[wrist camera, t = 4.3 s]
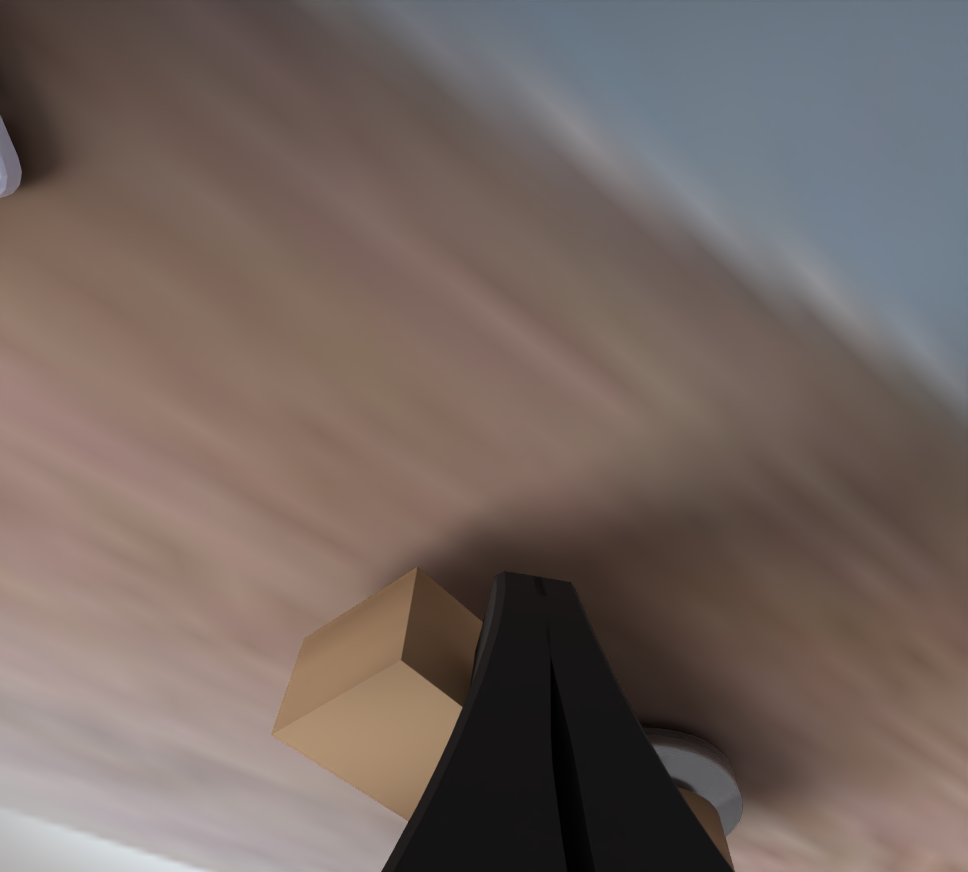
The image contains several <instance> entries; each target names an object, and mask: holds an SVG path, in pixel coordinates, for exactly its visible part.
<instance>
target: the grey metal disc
mask: <svg viewBox="0 0 968 872" xmlns="http://www.w3.org/2000/svg"><path fill="white" fill-rule="evenodd" d="M643 730H644V732H645V733H646V735H647V737H648V739H649V740H650V742H651V744H652V746H653V747H654V749H655V751H656V752H657V754H658V756H659V757H660V759H661V761H662V763H663V764H664V766H665V768H666V769H667V771H668V773H669V774H670V776H671V778H672V779H673V781H674V782H675V784H676V786H677V787H678V788H682V789H686V790H689V791H691V792H694V793H696V794H698V795H700V796H702V797H704V798H705V799H707V800H708V801H709V802H710V803H711V804H712V805H713V806H714V807H715V808H716V810H717V811H718V813H719V816H720V819H721V823H722V827H723V830H724V834H725V837H726V836H727V835H728V834H730V833H731V831H732V830H733V829H734V828H735V827H736V825H737V823H738V822H739V820H740V817H741V814H742V808H743V804H742V798H741V795H740V791H739V788H738V785H737V782H736V778H735V775H734V772H733V769H732V767H731V764H730V762H729V761H728V759H727V758H726V756H725V755H724V754H723V753H722V752H721V751H720V750H719V749H717V748H716V747H715V746H713V745H712V744H710V743H708V742H706V741H705V740H703V739H701V738H698V737H696V736H693V735H690V734H687V733H683V732H680V731H674V730H669V729H661V728H643Z"/></svg>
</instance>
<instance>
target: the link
mask: <svg viewBox="0 0 968 872" xmlns="http://www.w3.org/2000/svg"><path fill="white" fill-rule="evenodd" d="M482 624H483V622H482V621H481V620H480V619H478V618H477V617H476V616H475V615H474V614H472V613H471V612H470V611H469V610H468V609H467V608H465V607H464V606H463V605H462V604H461V603H460V602H458V601H457V600H456V599H455V598H454V597H453V596H451V595H450V594H449V593H448V592H447V591H446V590H444V589H443V588H442V587H441V586H440V585H438V584H437V583H436V582H435V581H434V580H433V579H431V578H430V577H429V576H428V575H427V574H426V573H424V572H423V571H422V570H421V569H420V568H419V567H416V568H414V569H413V570H411V571H410V572H408V573H406V574H405V575H403V576H402V577H400V578H399V579H397V580H396V581H394V582H392V583H391V584H389V585H388V586H386V587H385V588H383V589H381V590H380V591H378V592H377V593H375V594H374V595H372V596H371V597H369V598H367V599H366V600H364V601H363V602H361V603H360V604H358V605H356V606H355V607H353V608H352V609H350V610H349V611H347V612H346V613H344V614H342V615H341V616H339V617H338V618H336V619H335V620H333V621H331V622H330V623H328V624H327V625H325V626H324V627H322V628H321V629H319V630H317V631H316V632H314V633H313V634H311V635H310V636H308V637H306V638H305V639H304V641H303V643H302V646H301V649H300V652H299V655H298V658H297V661H296V664H295V667H294V670H293V672H292V675H291V678H290V681H289V684H288V687H287V690H286V693H285V696H284V699H283V701H282V704H281V707H280V710H279V713H278V716H277V719H276V722H275V725H274V728H273V730H272V733H271V735H272V736H274V737H275V738H277V739H278V740H280V741H281V742H283V743H285V744H286V745H288V746H289V747H291V748H293V749H294V750H296V751H297V752H299V753H301V754H302V755H304V756H305V757H307V758H309V759H310V760H312V761H313V762H315V763H317V764H318V765H320V766H321V767H323V768H324V769H326V770H328V771H329V772H331V773H332V774H334V775H336V776H337V777H339V778H340V779H342V780H344V781H345V782H347V783H348V784H350V785H352V786H353V787H355V788H356V789H358V790H360V791H361V792H363V793H364V794H366V795H368V796H369V797H371V798H372V799H374V800H375V801H377V802H379V803H380V804H382V805H383V806H385V807H387V808H388V809H390V810H391V811H393V812H395V813H396V814H398V815H399V816H401V817H403V818H404V819H406V820H407V821H409V820H410V818H411V816H412V814H413V812H414V810H415V809H416V807H417V805H418V803H419V801H420V799H421V797H422V795H423V793H424V791H425V789H426V787H427V785H428V783H429V781H430V779H431V777H432V775H433V773H434V771H435V769H436V766H437V764H438V762H439V760H440V758H441V756H442V754H443V751H444V749H445V747H446V745H447V743H448V741H449V738H450V736H451V734H452V732H453V729H454V727H455V724H456V722H457V719H458V717H459V715H460V712H461V710H462V707H463V705H464V702H465V700H466V698H467V695H468V693H469V688H470V682H471V677H472V671H473V664H474V655H475V649H476V646H477V642H478V638H479V635H480V631H481V628H482ZM678 789H679V790H680V792H681V794H682V795H683V797H684V798H685V800H686V801H687V803H688V805H689V806H690V808H691V809H692V811H693V812H694V814H695V815H696V817H697V818H698V820H699V821H700V823H701V824H702V826H703V827H704V829H705V830H706V832H707V833H708V835H709V836H710V838H711V839H712V841H713V842H714V843H715V845H716V846H717V848H718V849H719V851H720V852H721V853H722V855H723V856H724V858H725V859H726V860H727V862H728V863H729V865H730V866H731V867H732V869H733V870H734V867H733V863H732V860H731V856H730V852H729V849H728V845H727V841H726V838H725V834H724V830H723V827H722V823H721V819H720V816H719V813H718V811H717V810H716V808H715V807H714V806H713V805H712V804H711V803H710V802H709V801H708V800H707V799H705V798H704V797H702V796H700V795H698V794H696V793H694V792H691V791H689V790H686V789H682V788H678ZM734 872H735V871H734Z"/></svg>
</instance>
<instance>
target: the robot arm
mask: <svg viewBox="0 0 968 872" xmlns="http://www.w3.org/2000/svg"><path fill="white" fill-rule="evenodd" d="M21 175H22V170H21V166H20V162H19V158H18V155H17V153H16V151H15V148H14V146H13V144H12V141H11V139H10V137H9V134H8V132H7V130H6V127H5V125H4V123H3V120H2V118H1V116H0V198H3V197H5V196H8V195H11V194H13V193H14V192H15V190H16V189H17V188H18V187H19V186H20V181H21ZM381 872H734V870H733V869H732V867H731V866H730V865H729V863H728V862H727V860H726V859H725V858H724V856H723V855H722V853H721V852H720V851H719V849H718V848H717V846H716V845H715V843H714V842H713V841H712V839H711V838H710V836H709V835H708V833H707V832H706V830H705V829H704V827H703V826H702V824H701V823H700V821H699V820H698V818H697V817H696V815H695V814H694V812H693V811H692V809H691V808H690V806H689V805H688V803H687V801H686V800H685V798H684V797H683V795H682V794H681V792H680V790H679V789H678V787H677V786H676V784H675V782H674V781H673V779H672V778H671V776H670V774H669V773H668V771H667V769H666V768H665V766H664V764H663V763H662V761H661V759H660V757H659V756H658V754H657V752H656V751H655V749H654V747H653V746H652V744H651V742H650V740H649V739H648V737H647V735H646V733H645V732H644V730H643V728H642V726H641V724H640V723H639V721H638V719H637V717H636V715H635V713H634V712H633V710H632V708H631V706H630V704H629V702H628V700H627V698H626V696H625V694H624V692H623V691H622V689H621V687H620V685H619V683H618V681H617V679H616V677H615V675H614V673H613V671H612V669H611V667H610V665H609V663H608V661H607V659H606V657H605V655H604V653H603V651H602V648H601V646H600V644H599V642H598V640H597V638H596V636H595V633H594V631H593V629H592V627H591V625H590V622H589V620H588V618H587V616H586V613H585V611H584V609H583V606H582V604H581V602H580V599H579V597H578V595H577V592H576V590H575V588H574V587H573V585H572V584H571V582H565V581H559V580H554V579H548V578H542V577H536V576H530V575H524V574H518V573H512V572H506V571H504V572H502V573H500V574H498V575H496V577H495V581H494V585H493V588H492V592H491V595H490V599H489V603H488V606H487V610H486V613H485V617H484V621H483V624H482V628H481V631H480V635H479V638H478V642H477V646H476V649H475V655H474V664H473V671H472V677H471V682H470V688H469V693H468V695H467V698H466V700H465V702H464V705H463V707H462V710H461V712H460V715H459V717H458V719H457V722H456V724H455V727H454V729H453V732H452V734H451V736H450V738H449V741H448V743H447V745H446V747H445V749H444V751H443V754H442V756H441V758H440V760H439V762H438V764H437V766H436V769H435V771H434V773H433V775H432V777H431V779H430V781H429V783H428V785H427V787H426V789H425V791H424V793H423V795H422V797H421V799H420V801H419V803H418V805H417V807H416V809H415V810H414V812H413V814H412V816H411V818H410V820H409V822H408V824H407V826H406V827H405V829H404V831H403V833H402V835H401V837H400V839H399V841H398V842H397V844H396V846H395V848H394V850H393V852H392V854H391V855H390V857H389V859H388V861H387V863H386V864H385V866H384V868H383V870H382V871H381Z"/></svg>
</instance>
